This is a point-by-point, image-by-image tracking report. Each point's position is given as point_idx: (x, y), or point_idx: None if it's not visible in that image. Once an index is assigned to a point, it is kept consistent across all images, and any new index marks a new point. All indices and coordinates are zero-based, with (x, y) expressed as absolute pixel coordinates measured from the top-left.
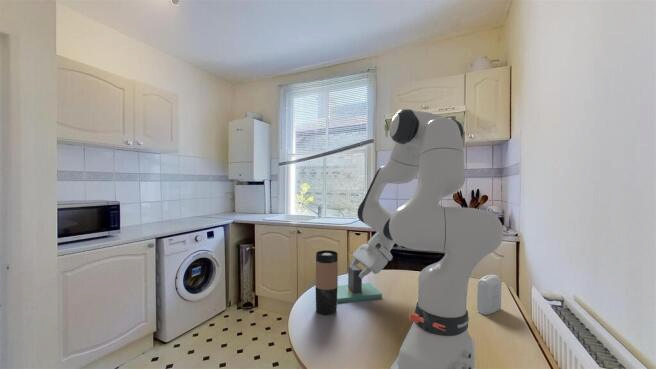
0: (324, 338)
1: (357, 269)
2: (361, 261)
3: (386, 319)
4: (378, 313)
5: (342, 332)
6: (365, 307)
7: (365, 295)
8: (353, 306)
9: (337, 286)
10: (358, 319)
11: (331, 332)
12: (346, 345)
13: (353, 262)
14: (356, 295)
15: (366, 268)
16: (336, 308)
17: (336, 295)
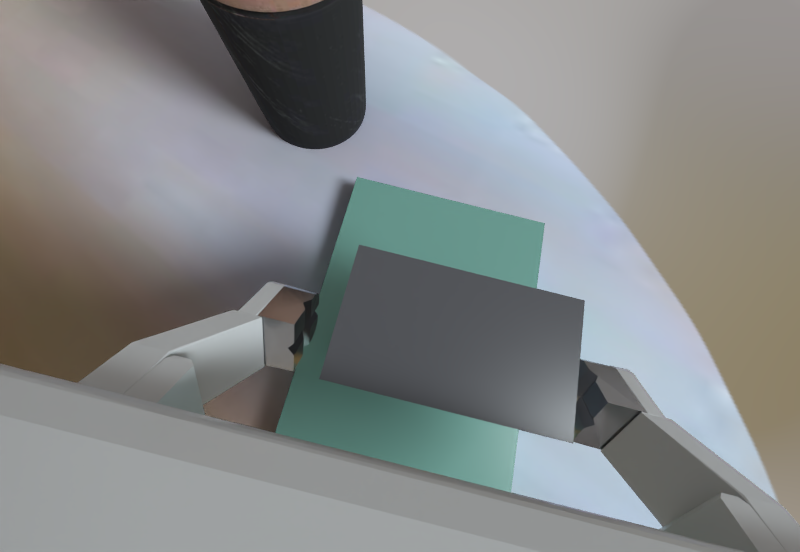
0: (129, 5)
1: (369, 323)
2: (404, 482)
3: (40, 301)
4: (120, 308)
5: (113, 70)
6: (224, 288)
7: (303, 358)
8: (275, 237)
9: (216, 5)
10: (147, 179)
11: (144, 40)
12: (34, 38)
13: (695, 461)
14: (336, 301)
15: (112, 372)
16: (275, 128)
17: (227, 48)
